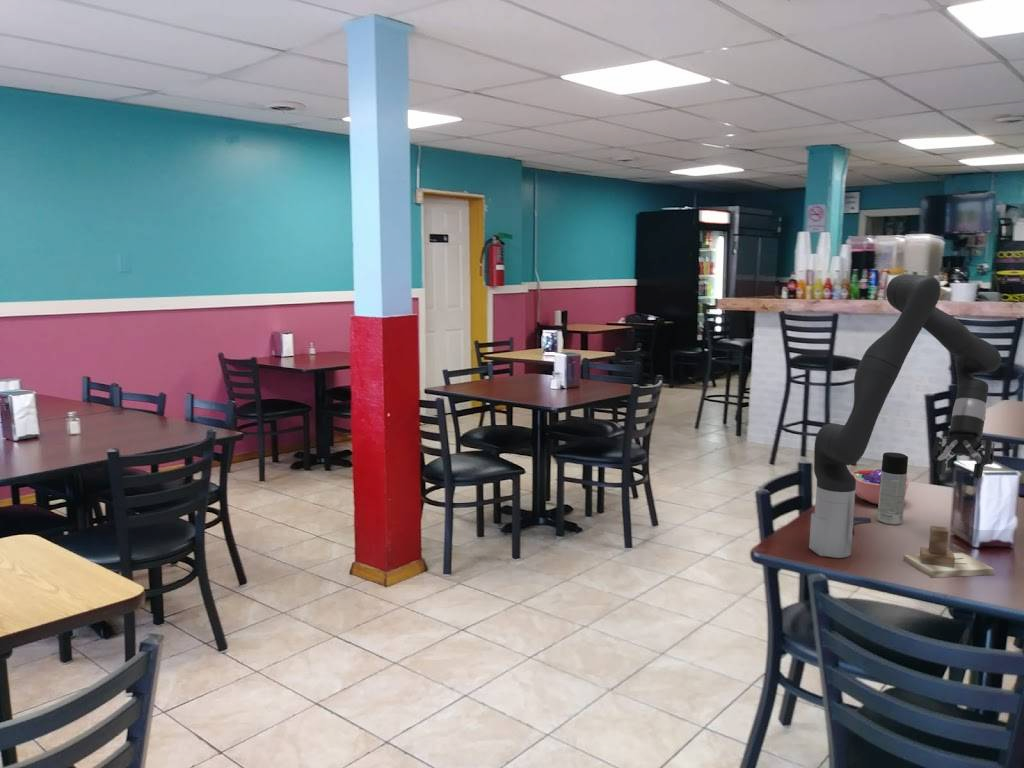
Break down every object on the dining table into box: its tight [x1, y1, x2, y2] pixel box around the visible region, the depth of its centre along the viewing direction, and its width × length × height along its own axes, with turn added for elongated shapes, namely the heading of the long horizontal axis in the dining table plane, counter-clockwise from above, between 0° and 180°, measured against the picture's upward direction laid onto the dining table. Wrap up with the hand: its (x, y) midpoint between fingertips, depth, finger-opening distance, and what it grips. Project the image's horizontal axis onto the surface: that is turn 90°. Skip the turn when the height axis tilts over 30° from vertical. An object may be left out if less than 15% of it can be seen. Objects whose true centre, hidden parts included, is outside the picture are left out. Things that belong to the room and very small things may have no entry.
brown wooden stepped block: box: [919, 525, 955, 568], centre depth 191 cm, size 7×5×8 cm
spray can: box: [877, 451, 909, 526], centre depth 226 cm, size 7×7×20 cm
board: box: [902, 552, 995, 578], centre depth 192 cm, size 16×11×2 cm
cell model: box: [850, 468, 911, 505], centre depth 246 cm, size 17×20×11 cm
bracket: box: [852, 516, 872, 536], centre depth 223 cm, size 14×15×3 cm
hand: (958, 477), depth 203 cm, fingers open, 8 cm apart
